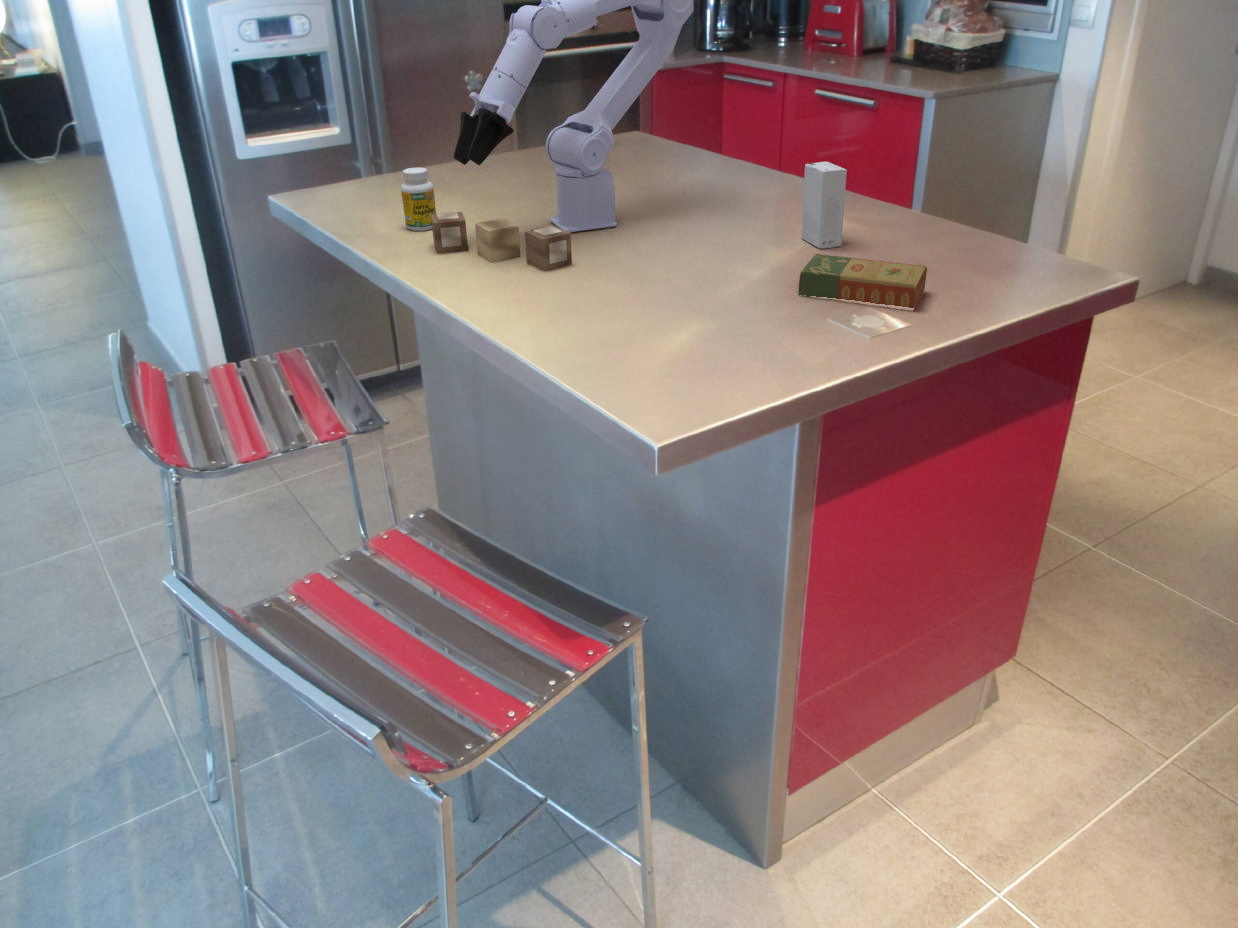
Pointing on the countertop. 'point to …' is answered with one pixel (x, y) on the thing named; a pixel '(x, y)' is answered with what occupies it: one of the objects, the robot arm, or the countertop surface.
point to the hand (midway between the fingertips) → (466, 161)
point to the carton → (863, 280)
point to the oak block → (497, 240)
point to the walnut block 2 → (548, 248)
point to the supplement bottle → (417, 199)
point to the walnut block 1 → (449, 232)
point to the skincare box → (823, 204)
